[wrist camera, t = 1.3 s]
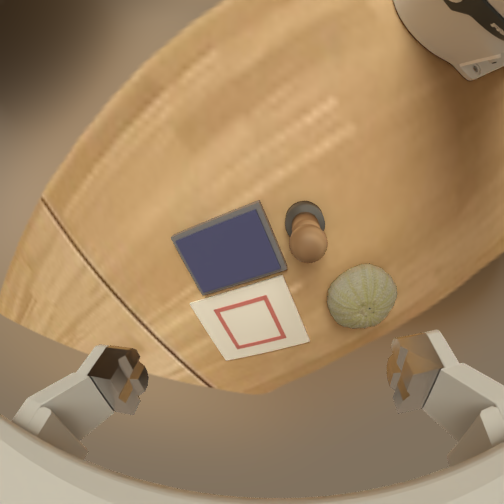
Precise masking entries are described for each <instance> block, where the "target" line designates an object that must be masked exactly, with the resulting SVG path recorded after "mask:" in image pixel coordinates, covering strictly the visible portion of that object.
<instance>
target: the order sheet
mask: <svg viewBox="0 0 504 504" xmlns="http://www.w3.org/2000/svg"><path fill="white" fill-rule="evenodd" d="M190 305H191V307H192V309H193V310H194V312H195V314H196V315H197V317H198V318H199V320H200V322H201V323H202V325H203V326H204V328H205V329H206V331H207V333H208V334H209V336H210V337H211V339H212V340H213V342H214V343H215V345H216V346H217V348H218V349H219V351H220V352H221V354H222V355H223V357H224V358H225V360H226V361H227V360H232V359H237V358H242V357H247V356H252V355H256V354H261V353H266V352H270V351H274V350H279V349H283V348H287V347H291V346H295V345H299V344H303V343H306V342H310V339H309V337H308V334H307V332H306V330H305V327H304V325H303V322H302V320H301V317H300V315H299V313H298V310H297V308H296V305H295V303H294V301H293V298H292V296H291V293H290V291H289V289H288V286H287V284H286V282H285V279H284V277H283V275H280V276H276V277H273V278H270V279H267V280H264V281H260V282H257V283H254V284H251V285H247V286H244V287H241V288H238V289H234V290H231V291H228V292H224V293H221V294H218V295H214V296H211V297H208V298H204V299H201V300H197V301H194V302H190Z"/></svg>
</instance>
